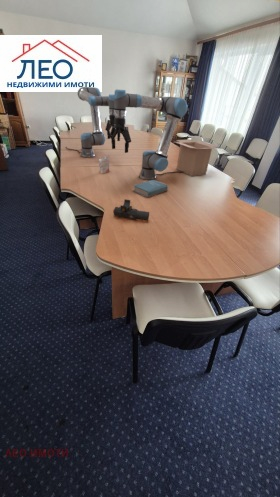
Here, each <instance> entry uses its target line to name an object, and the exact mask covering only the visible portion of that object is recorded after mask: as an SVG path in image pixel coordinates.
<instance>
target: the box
mask: <svg viewBox="0 0 280 497" xmlns="http://www.w3.org/2000/svg"><path fill="white" fill-rule="evenodd" d="M174 143H176V144H178V145H179V149H178V158H177V164H176V169H177V170H178V171H179V172H182V173H184V174H187V175H188V176H190V177H196V176H197V177H198V176H205V175H207V172H208V168H209V162H210V158H211V154H212V150H213V149H215V148H220V146H219V145H215V144H214V143H213V144H212V143H209V142H207V141H203V140H197V141H193V140H191V139H176V140H175V141H174Z"/></svg>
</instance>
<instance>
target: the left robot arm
mask: <svg viewBox="0 0 280 497" xmlns="http://www.w3.org/2000/svg"><path fill="white" fill-rule="evenodd" d="M77 97H78V99H79V100H81V101H82V102H87V103H88V104H89V108H90V115H91V116H90V117H91V124H92V131H91V132H83V133H81V134H80V143H81V151H79V150H77V149H73V148H68V147H67V146H65V149H66V150H70V151H75V152H77V153H79V154H80V157H82V158H88V159H89V158H94V157H95V152H94V149H93V147H94V146H95V147H96V146H104V145H105V143H106V135H107V140H111V138H110V137H109V136H110V132H111V129H112V124H115V103H114V93H113V94H111V93H109V94H108V95H105V96H103V95H102V93H101V90H100V89H99V88H98V87H94V86H93V87H92V86H81V87H79V89H78V90H77ZM100 107H108V114H109V115H108V119H106V120H107V122H106V126H105V128H104V129H105V131H106V135H105V133H103V131H102V127H101V125H102V124H101V117H100V109H99V108H100ZM116 138H117V142H120V141H121V133H117V135H116Z"/></svg>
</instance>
